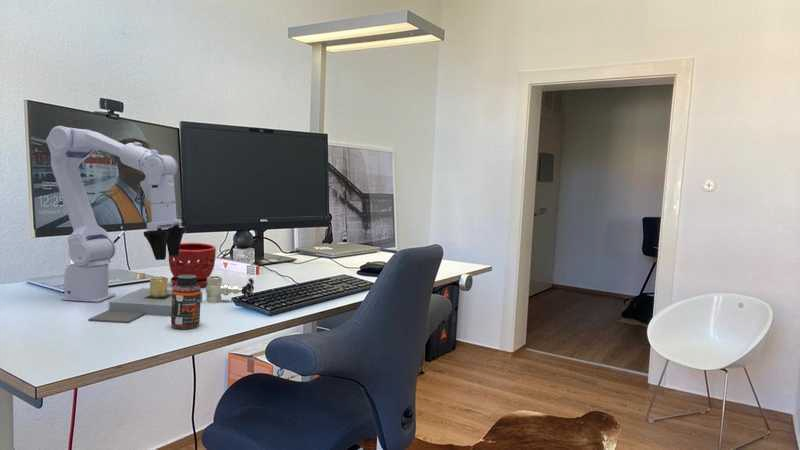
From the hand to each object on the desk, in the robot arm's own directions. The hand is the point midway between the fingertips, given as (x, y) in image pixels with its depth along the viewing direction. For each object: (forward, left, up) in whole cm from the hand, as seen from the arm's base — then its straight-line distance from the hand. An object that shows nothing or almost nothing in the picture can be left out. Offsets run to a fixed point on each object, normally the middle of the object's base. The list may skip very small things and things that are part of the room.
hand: (167, 257), depth 132 cm
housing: (-2, 0, -12) cm, 13 cm away
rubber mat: (-6, -11, -12) cm, 18 cm away
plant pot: (-4, +26, -13) cm, 29 cm away
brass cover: (-2, 0, -13) cm, 13 cm away
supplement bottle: (+11, -15, -13) cm, 23 cm away
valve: (+13, +9, -13) cm, 20 cm away
